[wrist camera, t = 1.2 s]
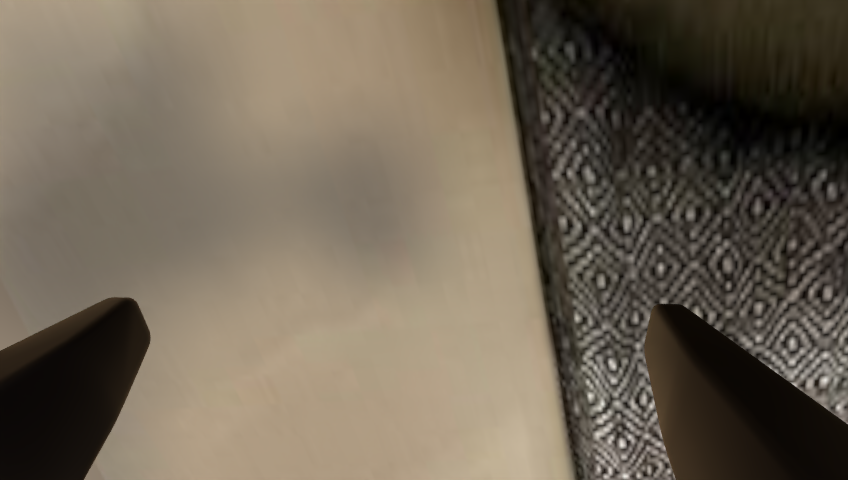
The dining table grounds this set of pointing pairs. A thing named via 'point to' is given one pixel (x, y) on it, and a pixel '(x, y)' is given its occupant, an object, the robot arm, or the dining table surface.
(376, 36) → the dining table surface
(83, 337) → the robot arm
